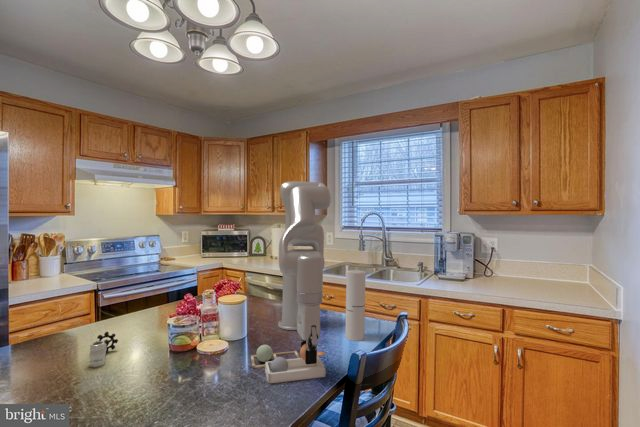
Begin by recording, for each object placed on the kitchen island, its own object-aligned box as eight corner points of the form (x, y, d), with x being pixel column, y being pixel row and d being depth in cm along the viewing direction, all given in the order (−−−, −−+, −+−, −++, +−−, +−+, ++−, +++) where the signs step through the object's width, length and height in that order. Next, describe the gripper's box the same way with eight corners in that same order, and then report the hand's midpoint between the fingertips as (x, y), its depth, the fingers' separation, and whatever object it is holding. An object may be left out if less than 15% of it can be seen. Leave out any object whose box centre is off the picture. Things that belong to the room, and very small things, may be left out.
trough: (265, 371, 97) (265, 361, 97) (318, 365, 102) (318, 356, 102) (268, 385, 90) (268, 374, 90) (325, 378, 94) (325, 367, 94)
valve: (108, 366, 99) (118, 350, 110) (108, 344, 99) (118, 330, 110) (82, 369, 97) (94, 352, 108) (82, 347, 97) (95, 332, 108)
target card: (299, 353, 111) (299, 351, 111) (325, 350, 113) (325, 348, 113) (303, 361, 105) (303, 359, 105) (330, 358, 107) (330, 356, 107)
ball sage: (255, 358, 105) (255, 342, 105) (271, 357, 106) (271, 341, 106) (256, 365, 100) (257, 349, 100) (273, 364, 102) (273, 347, 102)
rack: (250, 358, 106) (250, 355, 106) (296, 353, 110) (296, 350, 110) (252, 369, 98) (252, 366, 98) (301, 364, 103) (301, 361, 103)
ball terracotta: (298, 357, 99) (298, 341, 98) (314, 356, 100) (314, 339, 100) (301, 365, 94) (302, 348, 94) (318, 363, 95) (319, 346, 95)
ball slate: (269, 372, 96) (269, 354, 96) (286, 370, 98) (286, 353, 98) (271, 380, 91) (272, 362, 91) (289, 378, 93) (289, 360, 93)
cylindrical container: (363, 341, 121) (364, 273, 121) (344, 339, 123) (345, 272, 123) (364, 334, 128) (366, 270, 128) (346, 333, 130) (347, 269, 130)
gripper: (291, 290, 104) (290, 348, 104) (303, 305, 88) (302, 374, 88) (314, 289, 106) (313, 346, 106) (330, 304, 90) (329, 371, 90)
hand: (308, 358), depth 97 cm, fingers closed on ball terracotta, 5 cm apart
